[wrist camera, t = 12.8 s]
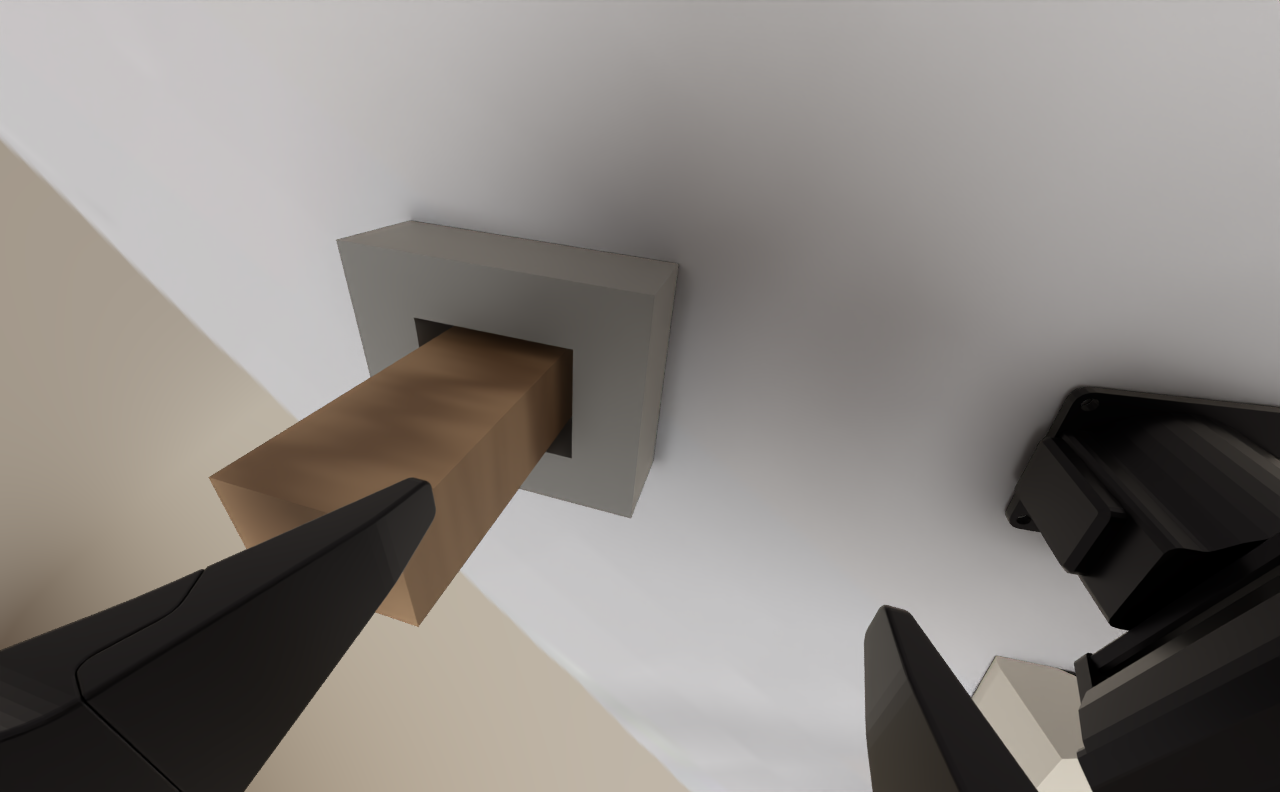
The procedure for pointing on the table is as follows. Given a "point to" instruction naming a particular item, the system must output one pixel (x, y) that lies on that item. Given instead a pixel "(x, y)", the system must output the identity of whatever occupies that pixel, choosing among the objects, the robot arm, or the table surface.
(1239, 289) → the table surface
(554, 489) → the grey block with slot
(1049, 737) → the decorative molding
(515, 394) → the brown wooden block
